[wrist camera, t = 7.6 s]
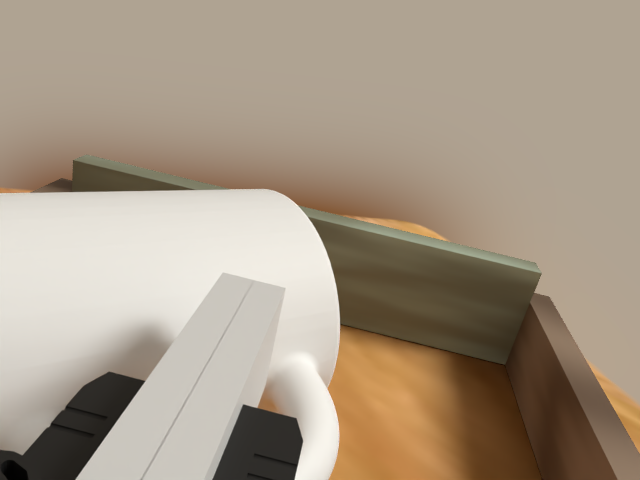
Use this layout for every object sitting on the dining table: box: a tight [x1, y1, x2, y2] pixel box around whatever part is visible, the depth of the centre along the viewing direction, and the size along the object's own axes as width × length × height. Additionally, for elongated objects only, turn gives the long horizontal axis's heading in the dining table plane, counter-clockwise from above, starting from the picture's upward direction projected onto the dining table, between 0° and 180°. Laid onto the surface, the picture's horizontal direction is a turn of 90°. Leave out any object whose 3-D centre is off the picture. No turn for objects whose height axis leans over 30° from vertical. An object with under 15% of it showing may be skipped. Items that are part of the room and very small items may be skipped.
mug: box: [0, 189, 340, 480], centre depth 15 cm, size 12×10×8 cm
